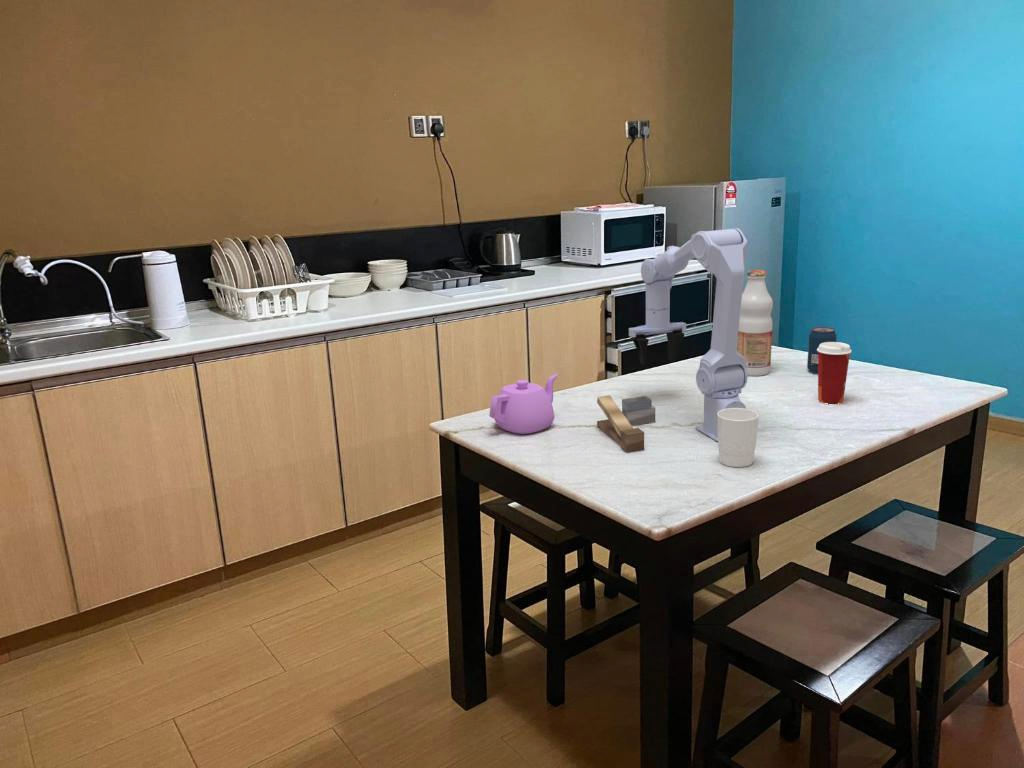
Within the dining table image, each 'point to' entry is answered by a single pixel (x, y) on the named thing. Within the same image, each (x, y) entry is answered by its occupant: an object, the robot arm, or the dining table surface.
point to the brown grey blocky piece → (630, 437)
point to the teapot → (524, 407)
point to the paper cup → (832, 371)
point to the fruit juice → (755, 325)
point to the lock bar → (636, 403)
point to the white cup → (737, 436)
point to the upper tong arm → (613, 414)
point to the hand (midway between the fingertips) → (657, 362)
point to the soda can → (815, 339)
